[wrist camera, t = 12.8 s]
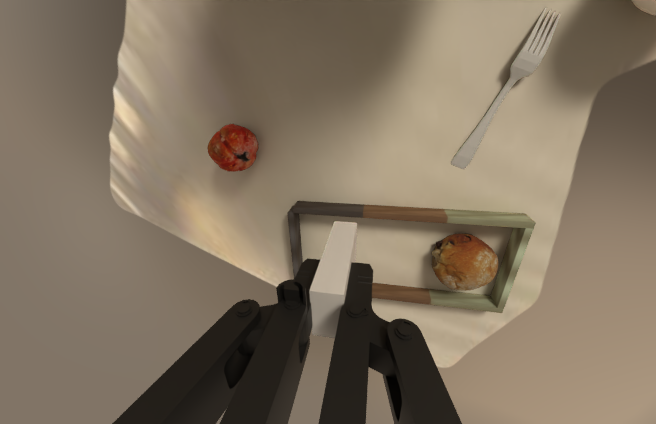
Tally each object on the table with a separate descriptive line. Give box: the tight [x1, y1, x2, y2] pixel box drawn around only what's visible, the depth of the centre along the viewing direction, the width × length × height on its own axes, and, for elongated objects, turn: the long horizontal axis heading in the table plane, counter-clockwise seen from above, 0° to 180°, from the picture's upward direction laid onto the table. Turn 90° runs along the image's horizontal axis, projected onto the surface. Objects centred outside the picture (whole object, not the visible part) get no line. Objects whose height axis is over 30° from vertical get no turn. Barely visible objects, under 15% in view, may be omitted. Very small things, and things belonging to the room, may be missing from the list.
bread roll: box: [432, 234, 498, 290], centre depth 43 cm, size 10×10×8 cm
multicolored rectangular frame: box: [288, 201, 535, 313], centre depth 46 cm, size 18×38×3 cm, turn 91°
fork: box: [451, 7, 561, 169], centre depth 34 cm, size 3×21×3 cm, turn 161°
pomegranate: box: [208, 124, 258, 171], centre depth 41 cm, size 7×7×10 cm
